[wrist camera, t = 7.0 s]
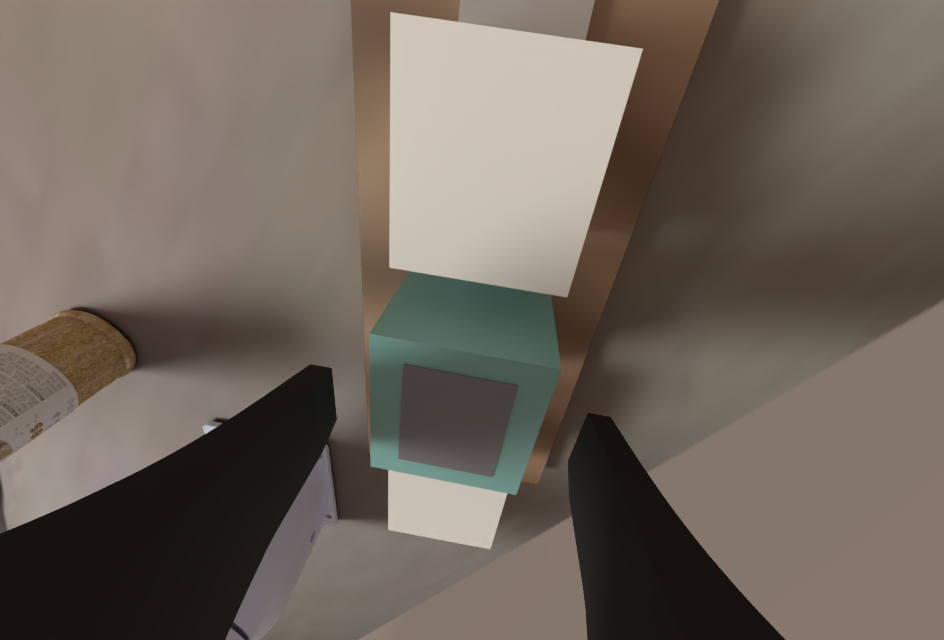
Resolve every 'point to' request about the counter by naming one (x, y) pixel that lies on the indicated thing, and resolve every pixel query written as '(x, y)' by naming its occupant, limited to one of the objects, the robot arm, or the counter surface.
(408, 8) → the rail board
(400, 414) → the block
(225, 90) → the counter surface
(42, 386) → the sprinkles bottle
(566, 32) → the rail
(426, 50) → the mounted modules
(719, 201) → the counter surface
